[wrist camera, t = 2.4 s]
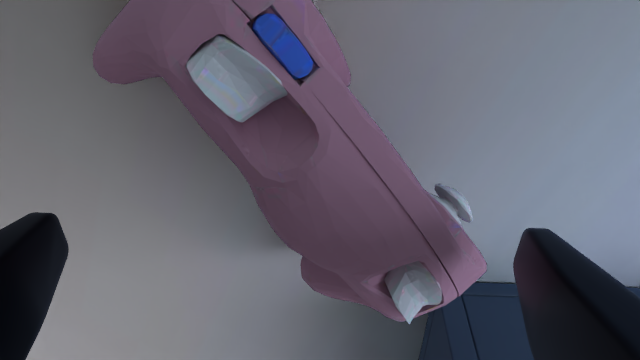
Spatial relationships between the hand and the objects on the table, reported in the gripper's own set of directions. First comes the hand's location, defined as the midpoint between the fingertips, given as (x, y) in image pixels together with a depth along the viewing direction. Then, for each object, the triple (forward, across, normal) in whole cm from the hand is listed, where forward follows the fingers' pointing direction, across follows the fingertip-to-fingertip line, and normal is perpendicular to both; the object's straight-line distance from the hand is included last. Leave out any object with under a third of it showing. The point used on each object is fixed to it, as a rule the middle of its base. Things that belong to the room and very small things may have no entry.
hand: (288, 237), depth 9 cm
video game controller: (+5, 0, 0) cm, 5 cm away
